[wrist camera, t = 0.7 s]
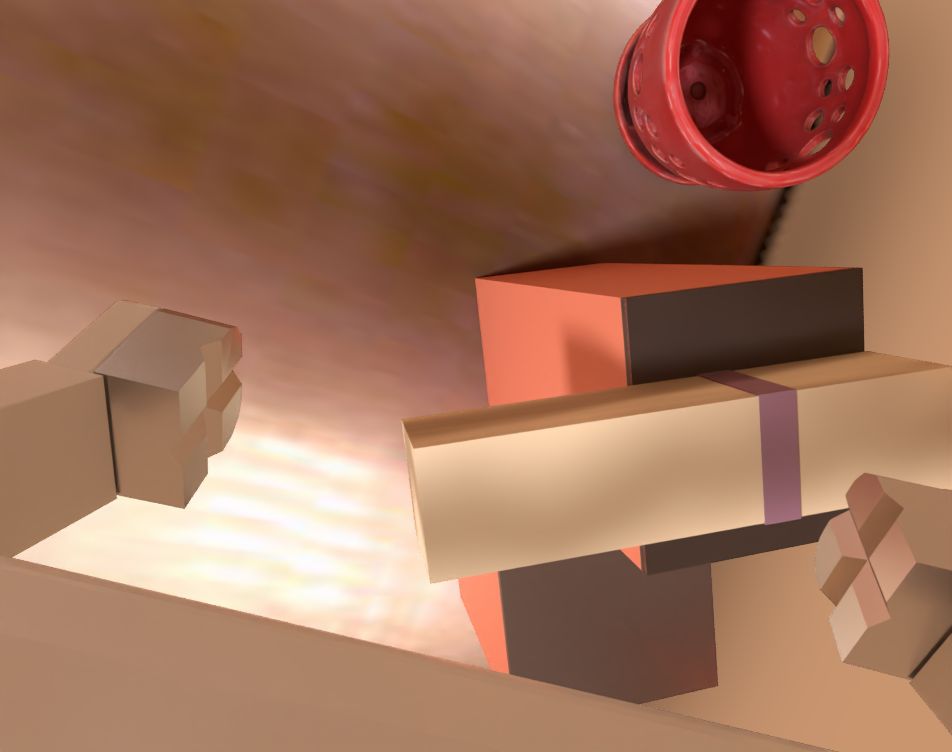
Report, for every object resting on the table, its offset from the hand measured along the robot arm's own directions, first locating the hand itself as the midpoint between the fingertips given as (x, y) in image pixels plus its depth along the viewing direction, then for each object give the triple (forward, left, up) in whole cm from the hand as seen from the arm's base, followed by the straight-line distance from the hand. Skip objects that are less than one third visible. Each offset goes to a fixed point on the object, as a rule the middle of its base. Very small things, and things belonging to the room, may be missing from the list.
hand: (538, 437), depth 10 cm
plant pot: (-10, +23, -41) cm, 48 cm away
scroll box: (+5, +8, -15) cm, 18 cm away
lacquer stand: (+11, +11, -41) cm, 44 cm away
